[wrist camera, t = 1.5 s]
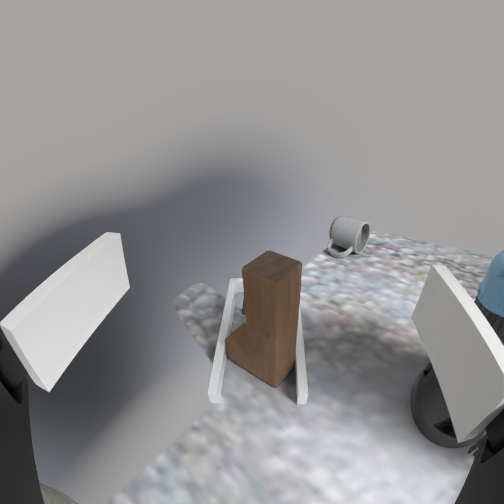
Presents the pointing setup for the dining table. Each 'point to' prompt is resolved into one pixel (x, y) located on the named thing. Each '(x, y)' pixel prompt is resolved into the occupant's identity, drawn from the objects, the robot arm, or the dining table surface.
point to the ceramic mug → (348, 236)
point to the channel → (221, 352)
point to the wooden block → (268, 318)
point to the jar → (54, 496)
